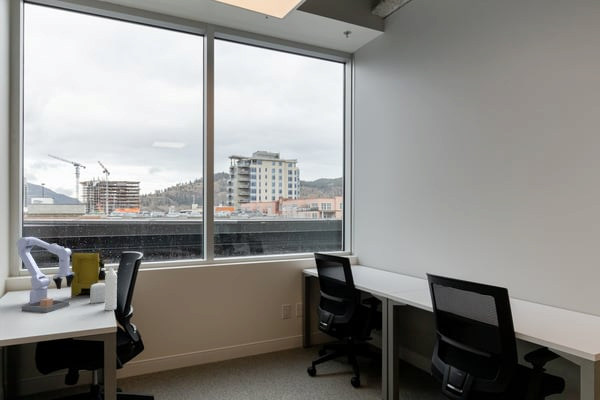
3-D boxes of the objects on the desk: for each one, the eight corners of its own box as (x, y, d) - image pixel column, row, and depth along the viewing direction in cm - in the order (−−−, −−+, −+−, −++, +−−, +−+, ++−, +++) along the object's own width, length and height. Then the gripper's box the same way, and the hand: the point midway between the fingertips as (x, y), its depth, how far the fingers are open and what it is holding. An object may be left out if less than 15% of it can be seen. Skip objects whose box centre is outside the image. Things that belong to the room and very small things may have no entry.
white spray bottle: (115, 307, 231) (116, 266, 232) (117, 309, 226) (118, 268, 226) (99, 309, 226) (100, 267, 227) (101, 311, 221) (102, 269, 221)
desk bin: (21, 310, 222) (21, 305, 222) (45, 304, 237) (45, 299, 237) (46, 312, 217) (46, 307, 217) (69, 306, 233) (69, 301, 233)
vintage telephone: (118, 292, 272) (119, 251, 273) (109, 297, 258) (110, 253, 259) (74, 292, 271) (75, 251, 272) (63, 297, 257) (64, 253, 258)
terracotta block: (40, 308, 226) (40, 299, 226) (46, 306, 230) (46, 298, 230) (46, 308, 225) (47, 300, 225) (52, 306, 229) (52, 298, 229)
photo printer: (107, 300, 248) (107, 281, 248) (108, 301, 244) (108, 283, 245) (89, 302, 242) (90, 283, 243) (90, 304, 239) (90, 284, 239)
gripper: (59, 268, 235) (59, 290, 235) (78, 265, 249) (77, 285, 249) (50, 268, 237) (50, 289, 236) (69, 265, 251) (69, 285, 250)
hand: (63, 287), depth 243 cm, fingers open, 7 cm apart
